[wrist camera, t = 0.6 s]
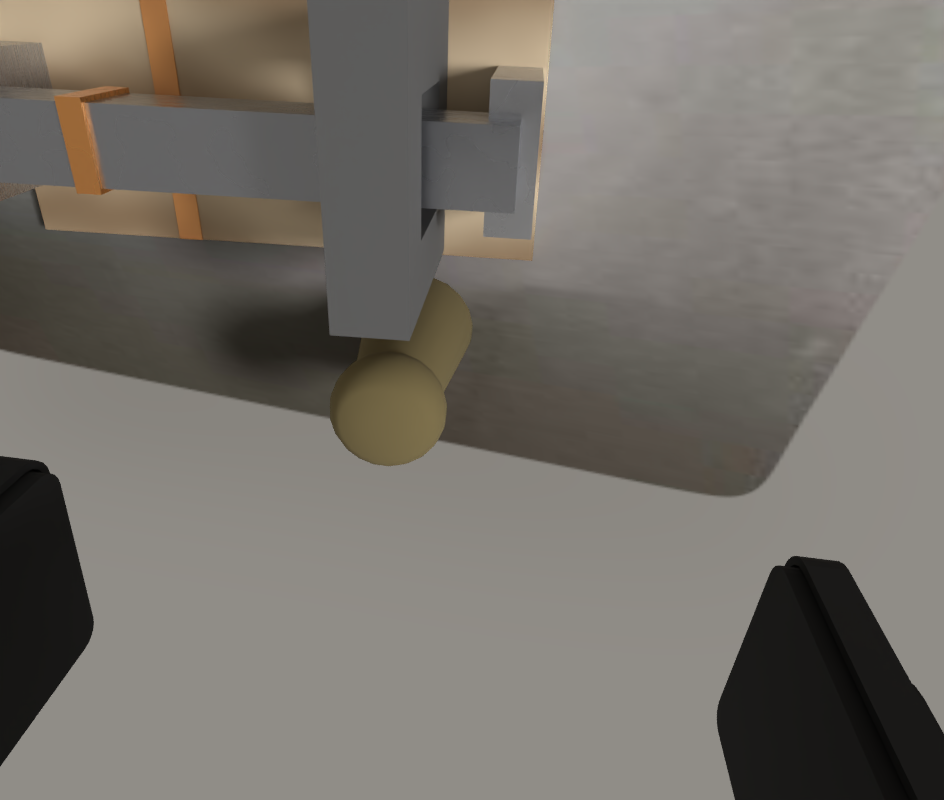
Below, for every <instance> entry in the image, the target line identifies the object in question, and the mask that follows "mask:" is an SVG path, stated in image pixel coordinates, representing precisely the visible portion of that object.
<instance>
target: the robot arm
mask: <svg viewBox="0 0 944 800" xmlns="http://www.w3.org/2000/svg"><path fill="white" fill-rule="evenodd" d="M93 625H94V621H93V615H92V611H91V607H90V603H89V599H88V594H87V590H86V587H85V582H84V578H83V574H82V570H81V566H80V562H79V558H78V554H77V550H76V546H75V541H74V538H73V533H72V529H71V525H70V521H69V517H68V513H67V509H66V505H65V501H64V497H63V493H62V489H61V484H60V482H59V479H58V478H57V477H56V476H55V475H53V474H50V472H49V470H48V467H47V466H46V465H45V464H44V463H42V462H39V461H35V460H27V459H19V458H11V457H3V456H0V766H1V765H2V763H3V762H4V760H5V759H6V758H7V756H8V755H9V753H10V752H11V751H12V749H13V748H14V747H15V745H16V744H17V742H18V741H19V740H20V738H21V736H22V735H23V734H24V733H25V731H26V730H27V728H28V727H29V726H30V724H31V723H32V721H33V720H34V719H35V717H36V716H37V715H38V713H39V712H40V710H41V709H42V708H43V706H44V705H45V703H46V702H47V701H48V699H49V698H50V696H51V695H52V694H53V692H54V691H55V690H56V688H57V687H58V685H59V684H60V683H61V681H62V680H63V678H64V677H65V676H66V674H67V673H68V671H69V670H70V669H71V667H72V666H73V665H74V663H75V662H76V660H77V659H78V658H79V656H80V655H81V653H82V652H83V651H84V649H85V648H86V646H87V644H88V643H89V640H90V638H91V635H92V631H93ZM717 726H718V732H719V736H720V741H721V745H722V749H723V753H724V757H725V761H726V765H727V769H728V773H729V777H730V781H731V785H732V789H733V793H734V797H735V800H944V734H943V732H942V730H941V728H940V726H939V724H938V723H937V721H936V719H935V717H934V715H933V714H932V712H931V710H930V708H929V707H928V705H927V703H926V701H925V699H924V698H923V696H922V695H921V694H920V692H919V691H918V690H917V688H916V687H915V686H914V685H913V684H912V683H911V681H910V680H909V678H908V676H907V674H906V673H905V671H904V669H903V667H902V665H901V663H900V662H899V660H898V658H897V656H896V654H895V653H894V651H893V649H892V647H891V645H890V644H889V642H888V640H887V638H886V636H885V635H884V633H883V631H882V629H881V627H880V626H879V624H878V622H877V620H876V618H875V617H874V615H873V613H872V611H871V609H870V608H869V606H868V604H867V602H866V600H865V599H864V597H863V595H862V593H861V592H860V590H859V588H858V586H857V585H856V582H855V581H854V579H853V577H852V575H851V573H850V572H849V570H848V569H847V567H846V566H845V565H844V564H843V563H840V562H839V561H832V560H823V559H815V558H808V557H800V556H794V557H791V558H790V559H789V560H788V561H787V563H786V564H785V566H775V567H774V568H773V569H772V571H771V573H770V575H769V577H768V580H767V582H766V585H765V588H764V590H763V592H762V595H761V598H760V600H759V602H758V605H757V608H756V610H755V612H754V615H753V617H752V620H751V623H750V625H749V628H748V630H747V633H746V635H745V638H744V640H743V643H742V645H741V648H740V651H739V653H738V655H737V658H736V660H735V663H734V666H733V668H732V670H731V673H730V675H729V678H728V680H727V683H726V685H725V688H724V691H723V693H722V696H721V698H720V701H719V704H718V710H717Z"/></svg>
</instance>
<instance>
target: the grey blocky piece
mask: <svg viewBox="0 0 944 800" xmlns="http://www.w3.org/2000/svg"><path fill="white" fill-rule="evenodd" d="M543 90H544V73H543V68H537V67H517V66H498V68H497V69H496V71H495V73H494V74H493V76H492V77H491V81H490V102H489V112H472V111H454V110H435V109H422V121H421V208H427V209H444V210H460V211H477V212H484V227H483V237H495V238H511V239H527V240H531V235H532V222H533V210H534V198H535V186H536V174H537V162H538V150H539V138H540V126H541V114H542V102H543ZM42 185H50V186H66V187H76V192H77V194H93V195H102V194H105V193H107V192H109V191H111V190H114V189H115V190H132V191H148V192H165V193H181V194H197V195H214V196H230V197H247V198H263V199H280V200H296V201H312V202H321V200H320V185H319V171H318V156H317V141H316V127H315V112H314V103H304V102H285V101H267V100H248V99H229V98H211V97H192V96H173V95H154V94H136V93H129V88H128V87H113V86H103V87H98V88H93V89H88V90H82V91H80V90H61V89H52V85H51V80H50V76H49V72H48V68H47V64H46V59H45V55H44V51H43V47H42V43H37V42H17V41H0V201H2V200H4V199H7V198H10V197H12V196H15V195H18V194H20V193H23V192H26V191H29V190H31V189H34V188H37V187H39V186H42Z"/></svg>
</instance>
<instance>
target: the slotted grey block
mask: <svg viewBox="0 0 944 800" xmlns="http://www.w3.org/2000/svg"><path fill="white" fill-rule="evenodd" d="M307 9H308V24H309V39H310V53H311V68H312V83H313V97H314V112H315V127H316V141H317V156H318V171H319V185H320V200H321V215H322V229H323V244H324V259H325V273H326V288H327V303H328V317H329V332H330V335H333V336H347V337H361V338H375V339H390V340H404V341H410V338H411V336H412V333H413V331H414V328H415V325H416V323H417V320H418V317H419V315H420V312H421V309H422V307H423V304H424V302H425V299H426V296H427V294H428V291H429V288H430V286H431V283H432V280H433V278H434V275H435V273H436V270H437V267H438V265H439V262H440V259H441V257H442V254H443V251H444V230H445V210H444V209H427V208H421V121H422V109H435V110H447V79H448V29H449V0H307Z"/></svg>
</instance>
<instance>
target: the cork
mask: <svg viewBox="0 0 944 800" xmlns="http://www.w3.org/2000/svg"><path fill="white" fill-rule="evenodd" d="M472 326H473V325H472V321H471V317H470V312H469V309H468V307H467V306H466V304H465V303H464V301H463V299H462V298H461V296H460V295H459V294H458V293H457V292H456V291H454V290H453V289H452V288H451V287H450V286H449V285H448V284H446V283H443V282H441V281H439V280H437V279H434V278H433V280H432V283H431V286H430V288H429V291H428V294H427V296H426V299H425V302H424V304H423V307H422V309H421V312H420V315H419V317H418V320H417V323H416V325H415V328H414V331H413V333H412V336H411V338H410V341H404V340H390V339H375V338H361V343H360V347H359V352H358V357H357V361H355V362H354V363H352V364H351V365H350V366H349V367H348V368H347V369H346V370H345V371H344V372H343V373H342V374H341V375H340V377H339V378H338V380H337V382H336V384H335V387H334V389H333V392H332V394H331V398H330V420H331V422H332V425H333V428H334V431H335V434H336V435H337V436H338V438H339V439H340V440H341V442H342V443H343V444H344V446H345V447H346V448H347V449H348V450H349V451H350V452H352V453H353V454H354V455H356V456H357V457H358V458H360V459H362V460H365V461H367V462H370V463H372V464H377V465H384V466H393V465H400V464H406V463H409V462H411V461H414V460H416V459H418V458H420V457H422V456H423V455H424V454H426V453H427V452H428V451H429V450H430V449H431V448H432V447H433V446H434V445H435V443H436V442H437V441H438V439H439V437H440V435H441V433H442V431H443V429H444V426H445V420H446V410H447V404H446V400H445V396H444V391H445V389H446V387H447V385H448V383H449V381H450V380H451V378H452V376H453V374H454V372H455V370H456V368H457V367H458V365H459V363H460V361H461V359H462V357H463V355H464V354H465V352H466V349H467V347H468V345H469V343H470V341H471V335H472Z"/></svg>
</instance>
